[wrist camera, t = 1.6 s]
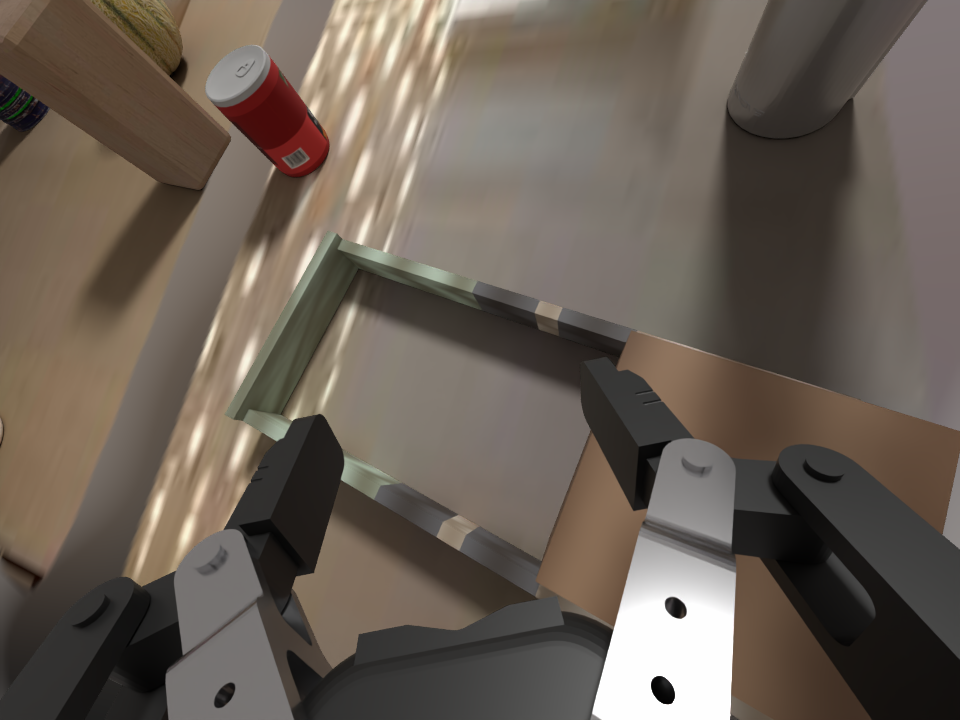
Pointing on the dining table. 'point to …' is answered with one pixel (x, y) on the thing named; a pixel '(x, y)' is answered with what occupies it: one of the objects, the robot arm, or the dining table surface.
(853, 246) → the dining table surface
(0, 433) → the teacup with lid
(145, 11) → the cantaloupe
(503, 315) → the tray
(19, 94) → the navy striped cylinder
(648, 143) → the dining table surface
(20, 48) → the block
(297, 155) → the canned food
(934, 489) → the walnut block
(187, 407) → the dining table surface
